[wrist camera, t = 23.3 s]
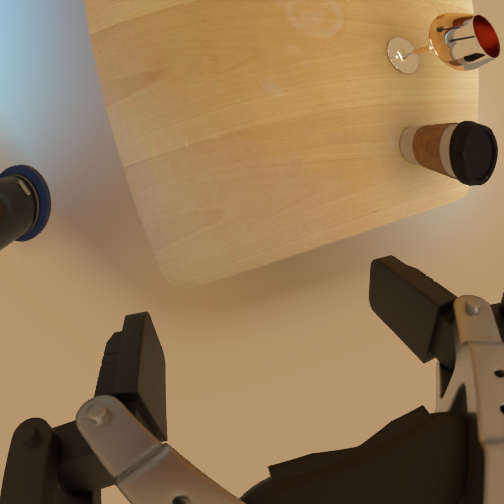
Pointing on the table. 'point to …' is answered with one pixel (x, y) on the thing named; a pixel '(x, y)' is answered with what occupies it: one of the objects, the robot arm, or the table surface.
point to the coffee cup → (452, 150)
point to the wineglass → (450, 43)
